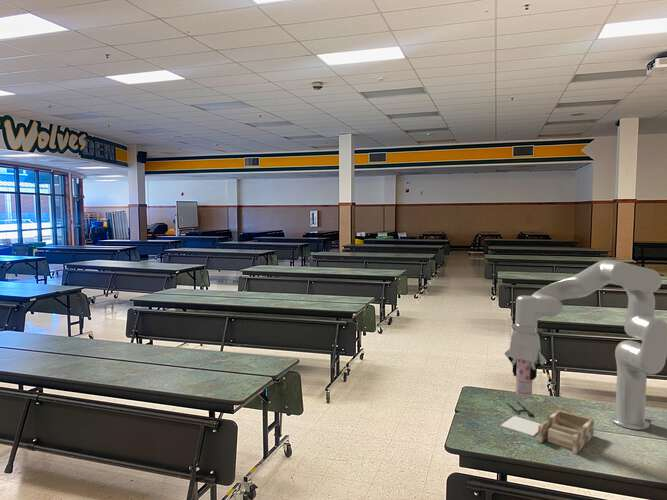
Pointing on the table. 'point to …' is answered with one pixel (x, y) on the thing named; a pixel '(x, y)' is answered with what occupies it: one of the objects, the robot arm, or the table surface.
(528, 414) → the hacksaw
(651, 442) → the table surface
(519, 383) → the beverage can
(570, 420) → the frame
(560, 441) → the offcut lower
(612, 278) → the robot arm
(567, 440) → the offcut upper
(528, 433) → the pad
